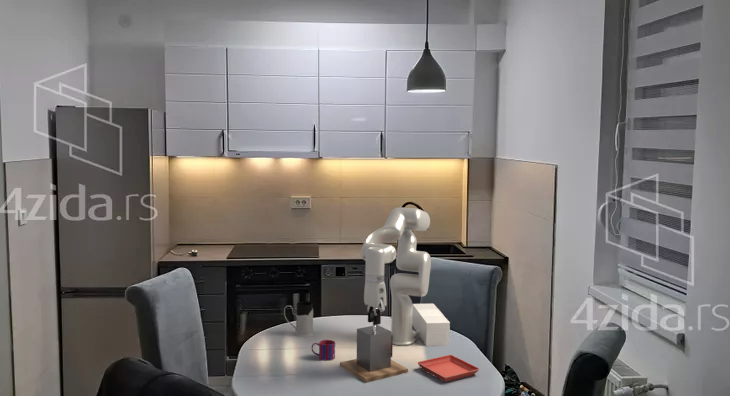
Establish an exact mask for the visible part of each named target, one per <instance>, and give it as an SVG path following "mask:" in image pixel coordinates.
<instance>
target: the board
mask: <svg viewBox="0 0 730 396" xmlns="http://www.w3.org/2000/svg"><path fill="white" fill-rule="evenodd" d="M339 367H340V368H342V369H344V370H345V371H347V372H348V373H350V374H351V375H353V376H355V377H356V378H358V379H359V380H361V381H363V382H365V383H370V382H374V381H378V380H383V379H386V378H391V377H395V376H399V375H403V373H404V374H408V373H409V368H407V367H406V366H404V365H402V364H400V363H398V362H397V361H394V360H393V359H391V367H390V368H385V369H381V370H377V371H372V372H369V371H367V370H366V369H364V368H362V367H361V366H359V365H357V358H355V359H350V360H344V361H341V362H339ZM407 372H408V373H407Z"/></svg>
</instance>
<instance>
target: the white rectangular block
mask: <svg viewBox="0 0 730 396" xmlns="http://www.w3.org/2000/svg"><path fill="white" fill-rule="evenodd" d="M412 305H413V311H412V328H414V331H420V335H418V336H419V337H420V339H421V340H422V342H423V343H424V345H425V346H426V347H431V346H432V347H436V346H437V347H438V346H450V333H451V332H450V331H451V328H450V327H451V325H450V324H451V322H450V321H449V320H448V318H446V317H445V315H444V314H443V312H441V310H440V309H439V308H438V307H437V306H436V305H435V304H434V303H412Z"/></svg>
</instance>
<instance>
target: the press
mask: <svg viewBox="0 0 730 396" xmlns="http://www.w3.org/2000/svg"><path fill="white" fill-rule="evenodd" d="M393 345H394V344H393V335H391V330H389V329H387V328H385V327H383V326H381V325H380V324H378V325H375V331H373V325H369V326H363V327H360V328H357V329H356V359H357V365H359V366H361V367H362V368H364V369H366V370H367V371H369V372H372V371H377V370H381V369H385V368H390V367H391V360H392V357H393Z"/></svg>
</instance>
